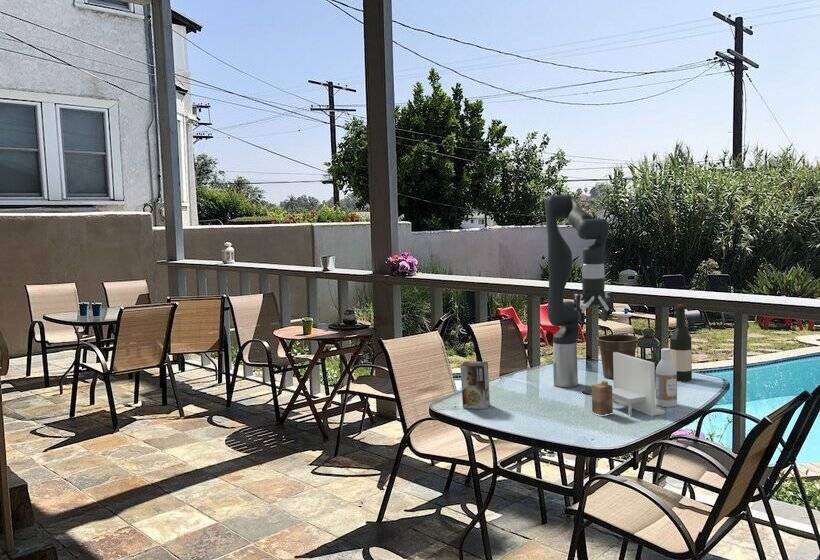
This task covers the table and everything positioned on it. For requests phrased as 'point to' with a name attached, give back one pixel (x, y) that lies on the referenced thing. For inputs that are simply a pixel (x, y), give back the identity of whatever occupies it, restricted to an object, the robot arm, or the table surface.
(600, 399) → the brown tall block
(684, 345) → the wine bottle
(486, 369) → the coffee box
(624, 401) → the wall shelf
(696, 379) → the table surface
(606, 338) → the plant pot
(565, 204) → the robot arm
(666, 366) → the bath foam
